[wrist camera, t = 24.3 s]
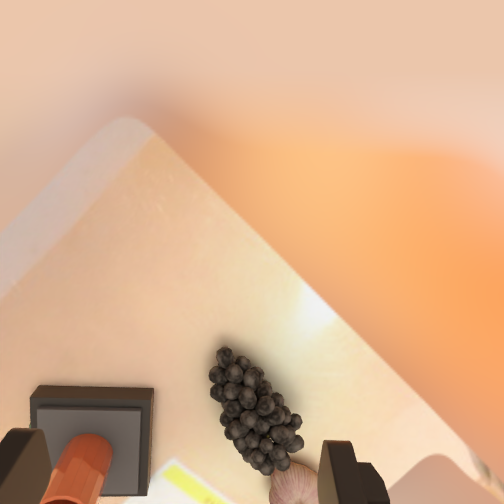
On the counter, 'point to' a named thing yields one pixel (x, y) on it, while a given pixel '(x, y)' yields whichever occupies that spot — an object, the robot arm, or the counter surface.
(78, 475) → the terracotta cup
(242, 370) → the fruit
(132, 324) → the counter surface
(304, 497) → the garlic bulb
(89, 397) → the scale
